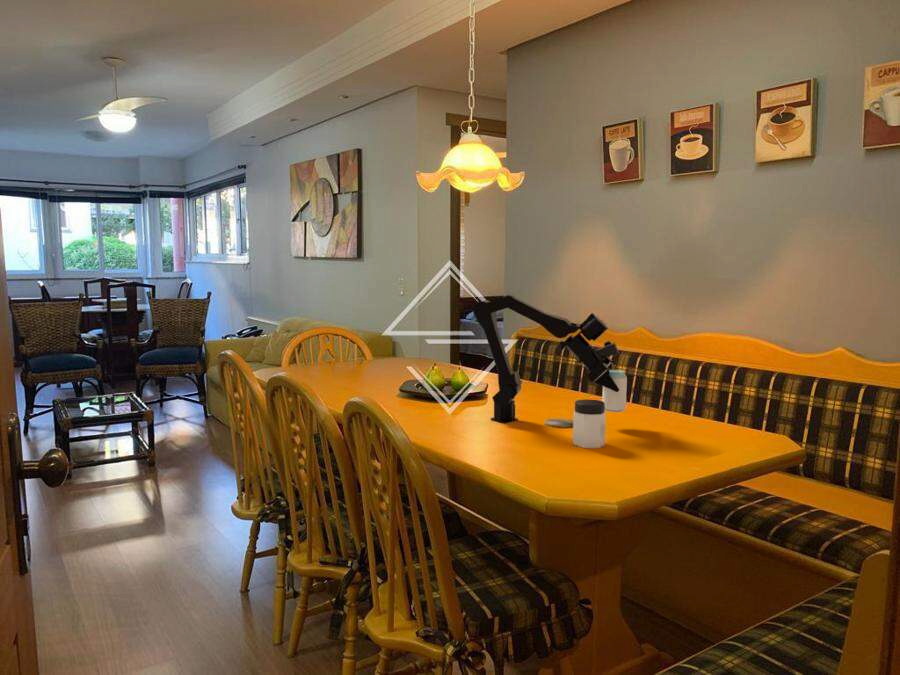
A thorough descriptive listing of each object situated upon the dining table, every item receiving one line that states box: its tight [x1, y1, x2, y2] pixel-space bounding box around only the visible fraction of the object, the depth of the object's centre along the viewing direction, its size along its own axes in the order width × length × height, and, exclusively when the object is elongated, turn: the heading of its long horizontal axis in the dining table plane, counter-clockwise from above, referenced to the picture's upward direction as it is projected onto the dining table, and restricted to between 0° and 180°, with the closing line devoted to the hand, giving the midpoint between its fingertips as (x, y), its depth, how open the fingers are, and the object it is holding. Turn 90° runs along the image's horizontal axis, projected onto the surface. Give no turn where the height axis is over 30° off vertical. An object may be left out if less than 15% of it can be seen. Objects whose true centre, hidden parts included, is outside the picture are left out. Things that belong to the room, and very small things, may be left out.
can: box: [601, 369, 628, 413], centre depth 206 cm, size 7×7×12 cm
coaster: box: [544, 417, 573, 429], centre depth 212 cm, size 10×10×1 cm
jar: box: [572, 398, 607, 449], centre depth 188 cm, size 9×8×12 cm
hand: (619, 388), depth 205 cm, fingers closed on can, 7 cm apart
